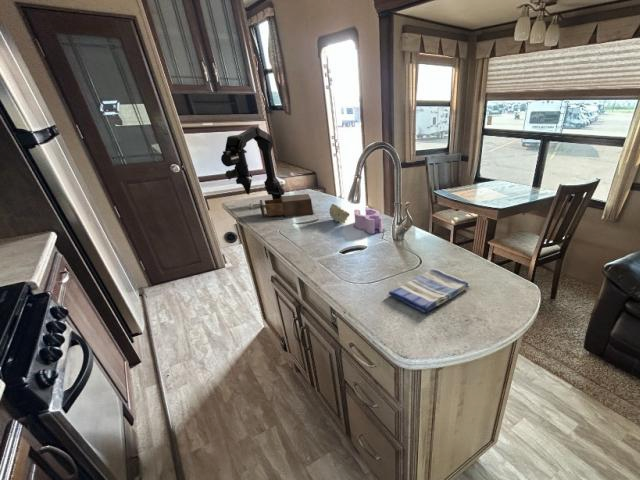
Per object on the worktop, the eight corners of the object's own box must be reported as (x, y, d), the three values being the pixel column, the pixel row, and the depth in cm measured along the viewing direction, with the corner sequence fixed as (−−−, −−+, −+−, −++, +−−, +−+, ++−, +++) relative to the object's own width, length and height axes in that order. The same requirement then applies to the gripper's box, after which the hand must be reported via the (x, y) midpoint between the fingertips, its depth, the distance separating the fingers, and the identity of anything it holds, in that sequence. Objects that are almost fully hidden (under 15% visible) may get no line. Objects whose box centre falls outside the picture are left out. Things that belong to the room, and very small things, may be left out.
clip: (388, 230, 161) (388, 217, 158) (366, 235, 156) (365, 221, 153) (372, 219, 176) (371, 207, 172) (351, 223, 171) (349, 210, 167)
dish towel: (470, 288, 112) (471, 281, 111) (426, 315, 98) (427, 308, 96) (432, 272, 122) (432, 265, 121) (387, 295, 108) (387, 288, 107)
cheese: (332, 220, 181) (319, 209, 167) (339, 209, 181) (327, 197, 167) (352, 233, 177) (341, 223, 163) (360, 222, 177) (349, 211, 162)
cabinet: (285, 217, 180) (282, 201, 176) (283, 210, 190) (280, 196, 186) (313, 214, 185) (311, 199, 180) (310, 208, 195) (308, 193, 190)
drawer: (251, 218, 175) (248, 206, 172) (251, 212, 184) (248, 200, 181) (289, 214, 181) (287, 202, 178) (288, 209, 190) (286, 197, 187)
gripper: (226, 161, 171) (234, 191, 179) (220, 167, 156) (229, 199, 164) (248, 160, 174) (255, 190, 182) (245, 166, 159) (253, 198, 167)
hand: (248, 194), depth 174 cm, fingers closed
